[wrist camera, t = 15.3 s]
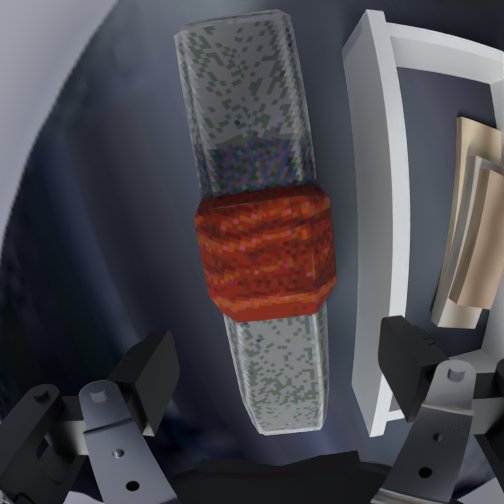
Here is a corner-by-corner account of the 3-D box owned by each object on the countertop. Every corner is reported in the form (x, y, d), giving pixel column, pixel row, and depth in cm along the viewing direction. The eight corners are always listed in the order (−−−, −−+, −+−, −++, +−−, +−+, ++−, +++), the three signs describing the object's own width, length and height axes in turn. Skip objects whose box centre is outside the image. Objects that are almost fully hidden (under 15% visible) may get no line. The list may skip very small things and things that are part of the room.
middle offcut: (502, 170, 28) (512, 171, 26) (467, 322, 33) (474, 328, 31) (466, 155, 28) (476, 155, 26) (430, 319, 33) (437, 326, 31)
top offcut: (511, 184, 27) (522, 186, 25) (481, 303, 30) (490, 309, 28) (479, 169, 27) (490, 169, 25) (448, 297, 30) (456, 304, 28)
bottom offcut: (492, 132, 29) (501, 131, 27) (468, 309, 35) (475, 315, 33) (453, 118, 29) (461, 116, 27) (428, 309, 35) (435, 315, 33)
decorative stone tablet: (153, 16, 10) (253, 481, 20) (301, -9, 10) (336, 472, 19) (216, 89, 29) (258, 346, 38) (280, 79, 28) (310, 340, 37)
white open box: (494, 75, 26) (541, 60, 16) (485, 355, 35) (520, 390, 26) (341, 50, 28) (366, 9, 18) (351, 384, 37) (369, 437, 27)
